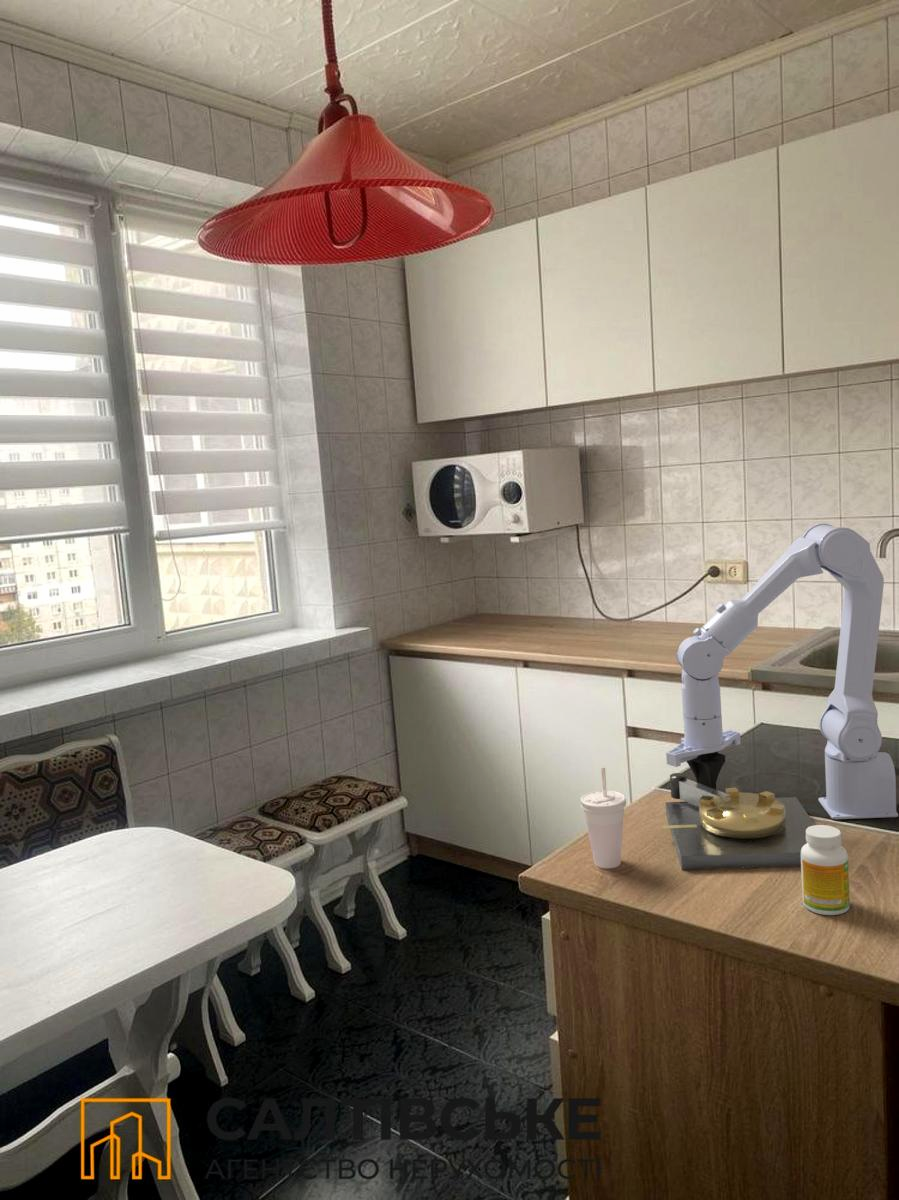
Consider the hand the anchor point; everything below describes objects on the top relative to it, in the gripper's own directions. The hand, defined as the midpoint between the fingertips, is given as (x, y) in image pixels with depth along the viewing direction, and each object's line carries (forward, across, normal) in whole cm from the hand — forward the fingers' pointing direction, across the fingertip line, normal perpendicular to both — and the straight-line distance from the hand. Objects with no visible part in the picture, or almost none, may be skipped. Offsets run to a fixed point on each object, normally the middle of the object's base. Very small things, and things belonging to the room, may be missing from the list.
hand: (707, 798), depth 140 cm
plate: (+3, +2, +9) cm, 9 cm away
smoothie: (+3, +22, +1) cm, 22 cm away
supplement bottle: (+3, +11, +28) cm, 31 cm away
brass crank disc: (0, +2, +4) cm, 5 cm away
